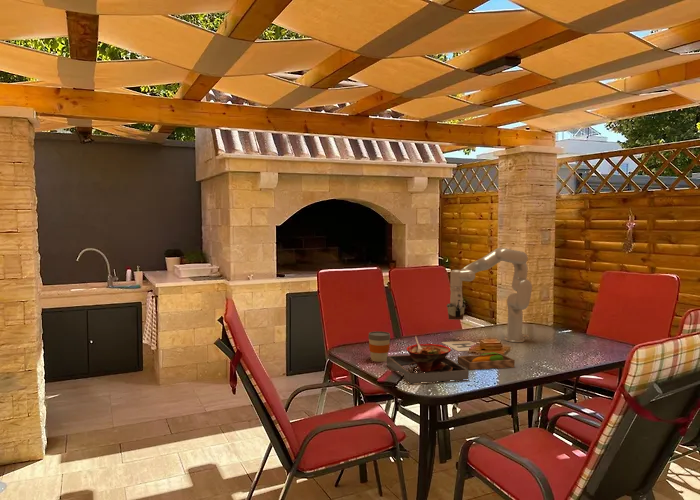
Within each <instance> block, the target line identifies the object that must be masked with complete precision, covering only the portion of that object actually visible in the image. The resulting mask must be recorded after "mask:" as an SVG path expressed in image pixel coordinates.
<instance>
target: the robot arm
mask: <svg viewBox="0 0 700 500" xmlns="http://www.w3.org/2000/svg"><path fill="white" fill-rule="evenodd" d="M528 258H529V257H528V255H527V253H526V252H524V251H520V250H515V249H512V248H505V247H498V248H495V249H494V250H492V251H490V252H489V253H487V254H486V255H484V256H483V257H481V258H478V259H477V260H476V261H473V262H471V263H468V264H467V265H466V266H464V267H463V268H461V269H452V270H451V271H450V283H449V285H450V287H449V289H450V299H449V303H451V305H454V306H456V315H455V317H460V311H461V307H462V306H463V304H464V303H463V301H464V300H463V299H464V298H463V282H472V281H474V280H475V278H476V274H477V273H479V272H483V271H488V270H490V269H491V268H492V267H494V266H495V265H496V266H497V264H499V263H500V262H505V263H510V264H512V265H513V269H514V270H513V277H512V282H511V288H512V290H513V291H515V292H513V293H510V294H509V295H508V296H507V298H506V306H507V334H506V336H505V337H504V341H506V342H510V343H523V342H525V339H526V338H529V336H530V335H529V334H523V322H524V321H523V320H524V319H523V317H524V315H523V314H524V313H523V311H524V310H527V308H528V307H529V305H530V303H531V296H532V291H533V285H532V282H531V281H530V280H529V279H528V278H527V277H528V271H529V270H528V264H527V261H528V260H529V259H528ZM457 305H459V306H457ZM457 307H458V309H457Z"/></svg>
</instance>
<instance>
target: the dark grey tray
mask: <svg viewBox="0 0 700 500" xmlns="http://www.w3.org/2000/svg"><path fill="white" fill-rule="evenodd" d="M413 362H415V361H414V360H413V358H412V357H411V356H410V354H406V355H404V354H403V355H402V354H401V355H387V360H386V366H387V367H388V368H389V369H390V370H391V371H393V372H394V371H399V372H402V373H404V379H405V380H406V381H405V380H404V379H403V380H404V381H405V382H407V381H408V382H409V383H421V382H437V381H450V380H463V379H468V380H469V371H470V370H468V369H466V368H465V367H463V366H461V365H460V364H458V362H455V361H453V360H452V359H450V358H448V357H447V356H446V357H445V358H444V360H443V361H442V362H444V363H448V364H449V365H450V366H451V367H453V369H452V370H451V371H442V372H427V373H424V372H419V373H415V372H413V373H411V372H410V371H409V370H408V369H406V368H404V367H403V366H404V365H405V366H406V365H409V366H410V364H411V363H413ZM411 365H412V364H411ZM413 365H417V364H416V363H414V364H413ZM408 382H407V383H408ZM409 383H408V384H409ZM437 383H438V382H437Z"/></svg>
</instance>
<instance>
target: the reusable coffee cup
mask: <svg viewBox="0 0 700 500" xmlns="http://www.w3.org/2000/svg"><path fill="white" fill-rule="evenodd" d="M367 338H368V341H369V342H368V349H369V350H368V351H369V352H370V361H373V362H375V363H377V362H378V363H379V362H381V363H382V362H387V356H389V355H388V354H389V352H390V345H391V343H390V340H391V333H390V332H388V331H378V330H377V331H376V330H375V331H370V332H368V337H367Z"/></svg>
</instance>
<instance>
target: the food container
mask: <svg viewBox="0 0 700 500" xmlns="http://www.w3.org/2000/svg"><path fill="white" fill-rule="evenodd" d="M457 306H459V305H457ZM446 309H447V316H448V320H452V321H453V320H455V321H457V320H458V321H462V320H464V315H465V309H466V304H464V303H463V306H462V307H461V311H460V317H455V315H456V306H454V305H451V303H450V302H449V303H447V305H446ZM457 309H458V307H457Z"/></svg>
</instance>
